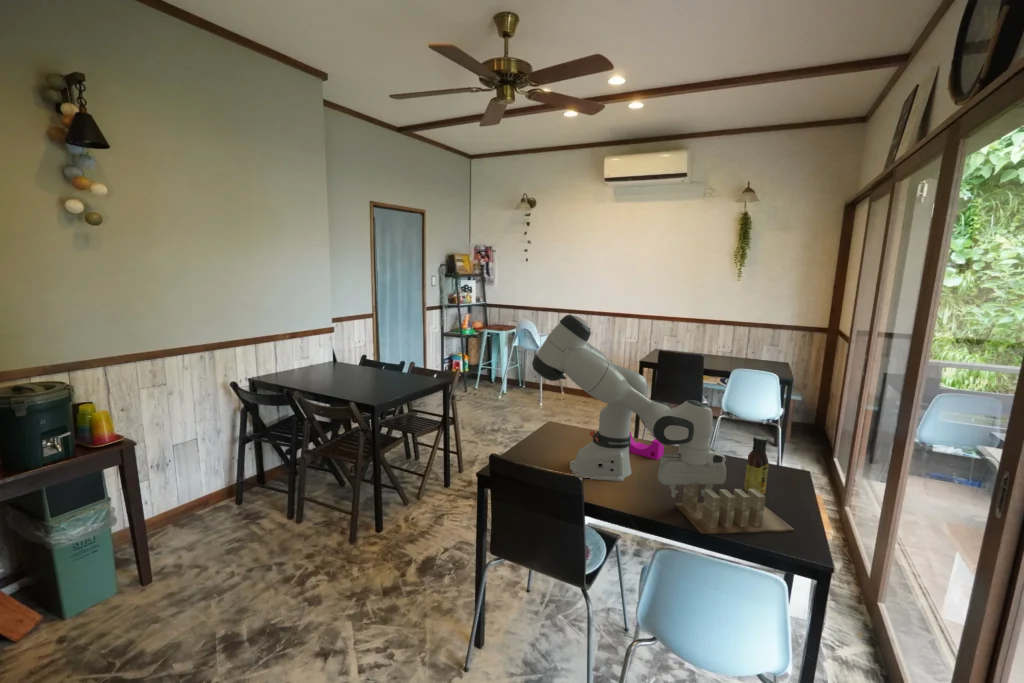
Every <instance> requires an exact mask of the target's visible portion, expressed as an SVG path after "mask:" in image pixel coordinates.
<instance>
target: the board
mask: <svg viewBox="0 0 1024 683" xmlns="http://www.w3.org/2000/svg"><path fill="white" fill-rule="evenodd" d="M703 503H704V502H697V508H696V512H689V511H688V510H687V509H686V508H685V507H684V505H683V504H682V502H679V503H674V504H675V507H676V508H677V509H678V510H679V511H680V512H681V513H682V514H683V516H685V517H686V519H687V520H688V521H689V522H690V523H691V524H692V526H693V527H694V528H695V529H696V530H697V532H698V533H700V534H706V535H707V534H709V535H710V534H737V533H739V534H740V533H744V534H746V533H773V532H775V533H776V532H779V533H781V532H783V533H784V532H795V528H793V527H792V526H791V525H790V524H788V523H787V521H785V520H783V519H782V518H780V516H779V515H777V514H775V513H774V512H773V511H772V510H770V509H769V508H768V507H767V506H766V505H765V506H764V514H763V522H762V526H755V525H753V524H752V523H751V522H750V521H749V520H748V525H747V527H741V526H739V525H738V524H737V523H736V522H735V521H734V520H733V527H725V526H724V525H723V524H722V523H721V522H720V521H719V520H718V527H710V526H709V525H708V524H707V523H706V522H705V521H704V520H703V519H702V513H703Z"/></svg>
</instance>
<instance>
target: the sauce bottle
mask: <svg viewBox="0 0 1024 683" xmlns="http://www.w3.org/2000/svg"><path fill="white" fill-rule="evenodd" d="M752 440H753V443H752V450H751V451H750V452H749V454H748V456H747V460H746V461H747V463H746V468H745V478H744V489H743V491H744V492H745V493H746V494H747V495H748V489H756V490H757V491H758V492H760V493H761V494H762V495H764V496H765V494H766V490H767V481H768V472H769V464H770V463H769V459H768V454H767V444H768V438H767V437H765V436H762V435H754V436H753V439H752ZM765 497H766V496H765Z"/></svg>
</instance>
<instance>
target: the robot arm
mask: <svg viewBox="0 0 1024 683" xmlns="http://www.w3.org/2000/svg"><path fill="white" fill-rule="evenodd" d="M591 333H592V331H591V328H590V327H589V325H588V324H587V322H586V320H584V319H583V318H581V317H579V316H577V315H572V314H567V315H565V316H563V317H562V318H561V319H560V320H559V323H558V324H557V325H556V326H555V327H554V328H553V329H552V330H551V332H550V333H549V334H548V336H546V339H545V340H544V342H543V344H542V345H541V347H540V348H539V349H538V352H537V353H536V354H535V355H534V356H533V357H534V358H533V360H532V363H531V365H532V367H533V370H534V371H535V373H536V374H537V375H538V376H539V377H541V378H542V379H545V380H548V381H550V382H557V381H559V380H566V379H567V377H568V378H569V379H570V380H571V381H572V382H573V383H575V384H576V385H577V386H578V387H579V388H580V389H581V390H582V391H584V392H586V393H587V394H588V395H590V396H591V397H593V398H595V399H597V400H598V401H600V402H603V403H607V404H606V406H604V407H603V408H601V410H600V412H599V420H598V421H599V422H598V430H597V431H596V432H595V431H594V430H590V431H589V436H590V437H591V438H592V441H590V442H589V443H588V444H586V445H584V446H583V447H581V448H580V449H579V450H578V451H577V453H576V457H575V459H574V460H571V461H570V462H569V465H570V467H569V470H570V469H571V470H572V471H573V472H571V473H572V474H573V473H574V474H579V475H581V476H582V477H584V478H590V479H589V480H595V479H596V481H598V480H599V481H609V482H610V481H611V482H623V481H624V479H625V478H627V477H629V476H631V475H632V468H631V460H630V452H629V449H630V444H631V435H630V432H631V423H632V422H631V421H632V415H633V413H634V414H636V415H637V416H638V417H639V419H640V421H641V422H642V424H643V426H645V428H646V429H647V430H648V431H649V432H650V433H651V435H652V436H653V437H654V439H657V440H658V441H659V442H660V443H662V445H664V446H665V445H666V446H675V445H678V450H677V453H665V454H663V456H662V457H660V458H659V467H658V471H657V480H658V481H659V482H660V483H661V484H662V485H664V486H665V485H666V486H669V489H670V490H671V498H673V499H676V498H677V499H678V498H679V495H680V493H679V491H678V490H677V489H675V488H676V487H677V486H678V485H680V486H681V485H683V486H684V485H691V483H698V484H699V485H705V486H704V488H703V489H700V496H701V497H702V498H704V493H705V489H711V490H713V487H714V485H723V484H724V483H725V482H726V481H727V480H726V479H727V466H726V464H725V463H726V459H727V458H726V456H725V455H724V454H722V453H721V452H720V451H718V450H717V449H715V448H712V447H711V436H712V434H713V410H712V409H711V407H710V406H709V405H707V404H706V403H704V402H701V401H699V400H694V399H687V400H685V401H684V402H683V403H681V404H679V405H678V406H675V407H673V408H671V406H670V405H669V404H667V403H666V402H664V401H661V400H655V399H650V398H649V397H647V392H648V390H649V384H648V380H647V379H646V378H645V376H643V375H641V374H640V373H639V372H637V371H636V370H632V369H629V368H626V367H623V366H621V365H618V364H616V363H614V362H612V361H611V360H609V359H608V358H607V356H606V354H605V353H604V352H602V351H601V350H599V349H598V348H596V347H595V346H593V345H592V344H590V343H589V342H588V341H589V339H590V337H591ZM564 374H565V375H566V376H567V377H566V376H565V375H564ZM571 470H570V471H571ZM574 474H573V475H574Z"/></svg>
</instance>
